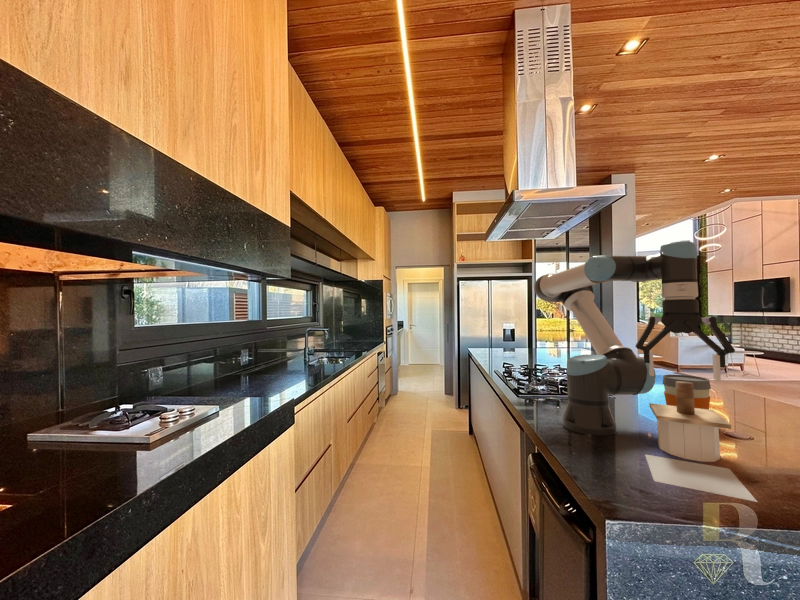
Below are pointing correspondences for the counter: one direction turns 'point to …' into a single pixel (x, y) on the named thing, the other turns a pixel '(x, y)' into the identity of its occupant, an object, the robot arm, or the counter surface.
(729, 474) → the grey mat
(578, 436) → the counter surface
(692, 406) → the oak cover
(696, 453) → the ceramic bowl
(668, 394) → the reusable coffee cup
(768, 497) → the counter surface
